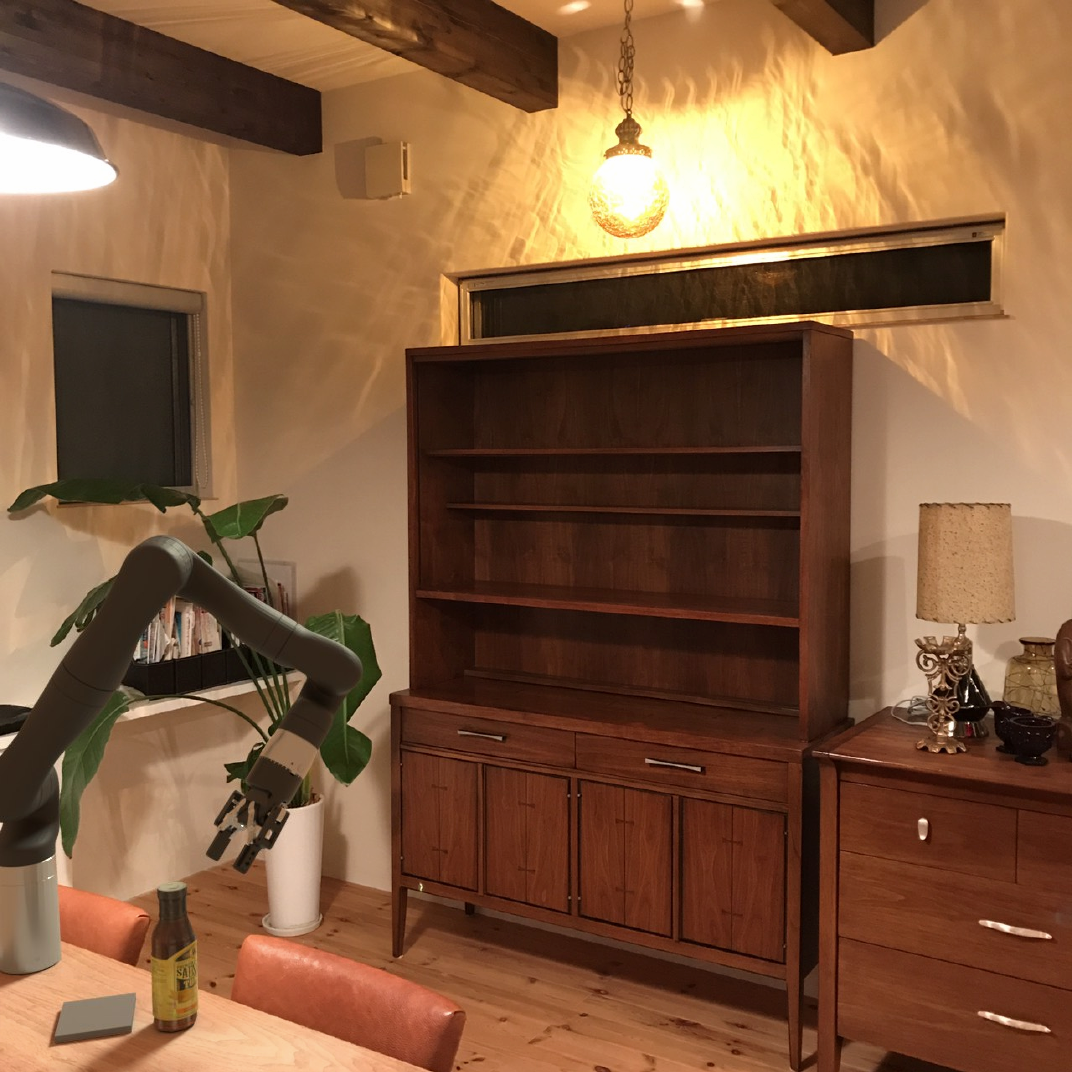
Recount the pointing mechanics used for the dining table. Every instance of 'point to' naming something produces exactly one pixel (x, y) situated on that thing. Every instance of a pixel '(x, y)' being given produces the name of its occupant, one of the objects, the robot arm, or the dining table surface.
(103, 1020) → the rubber mat
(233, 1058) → the dining table surface
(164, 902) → the sauce bottle
